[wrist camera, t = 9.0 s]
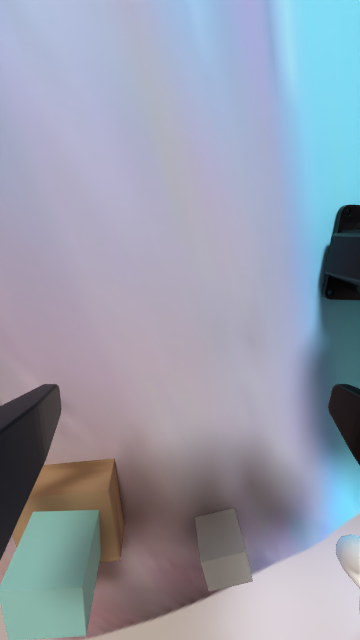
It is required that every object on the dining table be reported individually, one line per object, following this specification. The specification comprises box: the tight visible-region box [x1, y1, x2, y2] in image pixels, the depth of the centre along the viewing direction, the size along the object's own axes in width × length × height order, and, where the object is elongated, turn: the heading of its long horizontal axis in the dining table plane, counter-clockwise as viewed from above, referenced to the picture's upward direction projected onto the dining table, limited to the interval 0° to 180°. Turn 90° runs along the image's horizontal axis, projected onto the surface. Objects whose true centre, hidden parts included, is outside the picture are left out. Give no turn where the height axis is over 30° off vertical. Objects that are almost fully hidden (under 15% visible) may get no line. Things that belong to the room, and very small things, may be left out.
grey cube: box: [195, 508, 252, 592], centre depth 26 cm, size 4×4×4 cm
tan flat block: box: [12, 459, 124, 563], centre depth 24 cm, size 8×8×4 cm
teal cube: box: [0, 510, 101, 640], centre depth 20 cm, size 5×5×5 cm
